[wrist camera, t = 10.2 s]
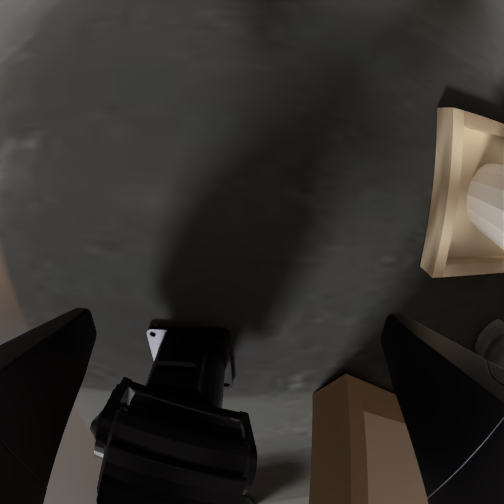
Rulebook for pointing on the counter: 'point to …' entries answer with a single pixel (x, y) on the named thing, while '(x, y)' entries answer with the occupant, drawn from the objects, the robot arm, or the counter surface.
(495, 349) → the beverage cup
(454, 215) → the birch tray
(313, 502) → the photo frame
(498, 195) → the white tapered cup
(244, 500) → the coffee jar
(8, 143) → the counter surface
